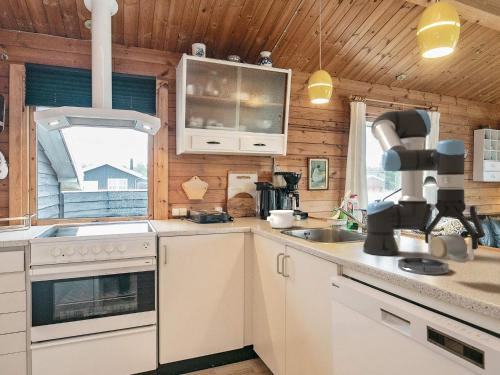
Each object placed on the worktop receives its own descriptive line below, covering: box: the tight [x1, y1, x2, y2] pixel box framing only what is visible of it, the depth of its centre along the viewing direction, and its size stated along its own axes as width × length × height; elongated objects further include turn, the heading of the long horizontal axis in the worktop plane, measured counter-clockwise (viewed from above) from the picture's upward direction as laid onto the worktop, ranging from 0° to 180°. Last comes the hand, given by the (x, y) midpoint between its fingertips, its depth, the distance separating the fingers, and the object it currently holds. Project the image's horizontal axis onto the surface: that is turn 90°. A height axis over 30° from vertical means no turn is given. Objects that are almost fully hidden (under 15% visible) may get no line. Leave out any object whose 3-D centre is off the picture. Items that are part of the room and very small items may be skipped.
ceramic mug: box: [430, 232, 469, 264], centre depth 104 cm, size 11×8×8 cm
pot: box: [266, 209, 296, 229], centre depth 235 cm, size 22×17×12 cm
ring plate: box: [397, 256, 450, 276], centre depth 120 cm, size 17×17×2 cm
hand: (450, 256), depth 105 cm, fingers closed on ceramic mug, 11 cm apart
